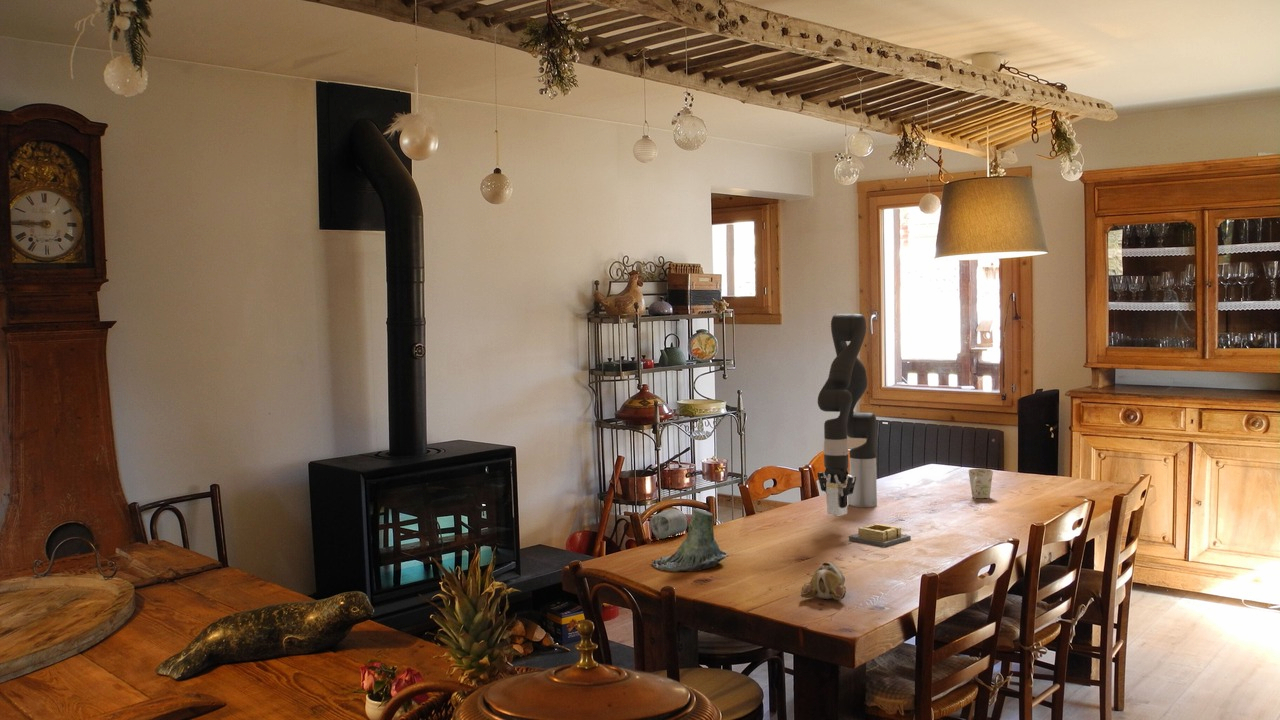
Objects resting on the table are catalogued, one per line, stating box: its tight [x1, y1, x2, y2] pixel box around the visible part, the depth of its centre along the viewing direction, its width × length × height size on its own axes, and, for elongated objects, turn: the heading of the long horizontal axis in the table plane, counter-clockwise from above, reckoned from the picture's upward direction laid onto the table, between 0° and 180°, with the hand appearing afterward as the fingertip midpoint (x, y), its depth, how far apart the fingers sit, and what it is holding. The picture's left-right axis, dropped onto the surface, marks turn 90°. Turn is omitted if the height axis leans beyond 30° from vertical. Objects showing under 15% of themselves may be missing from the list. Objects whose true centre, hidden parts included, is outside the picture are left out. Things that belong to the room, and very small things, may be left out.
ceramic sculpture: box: [800, 560, 847, 601], centre depth 238 cm, size 11×9×15 cm
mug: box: [968, 468, 994, 499], centre depth 355 cm, size 8×13×10 cm, turn 148°
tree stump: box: [651, 508, 728, 573], centre depth 273 cm, size 18×20×18 cm
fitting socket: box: [848, 522, 911, 548], centre depth 295 cm, size 13×13×4 cm
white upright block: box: [826, 482, 848, 517], centre depth 307 cm, size 5×5×10 cm
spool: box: [649, 508, 688, 540], centre depth 308 cm, size 14×10×10 cm
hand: (837, 506), depth 307 cm, fingers closed on white upright block, 4 cm apart
